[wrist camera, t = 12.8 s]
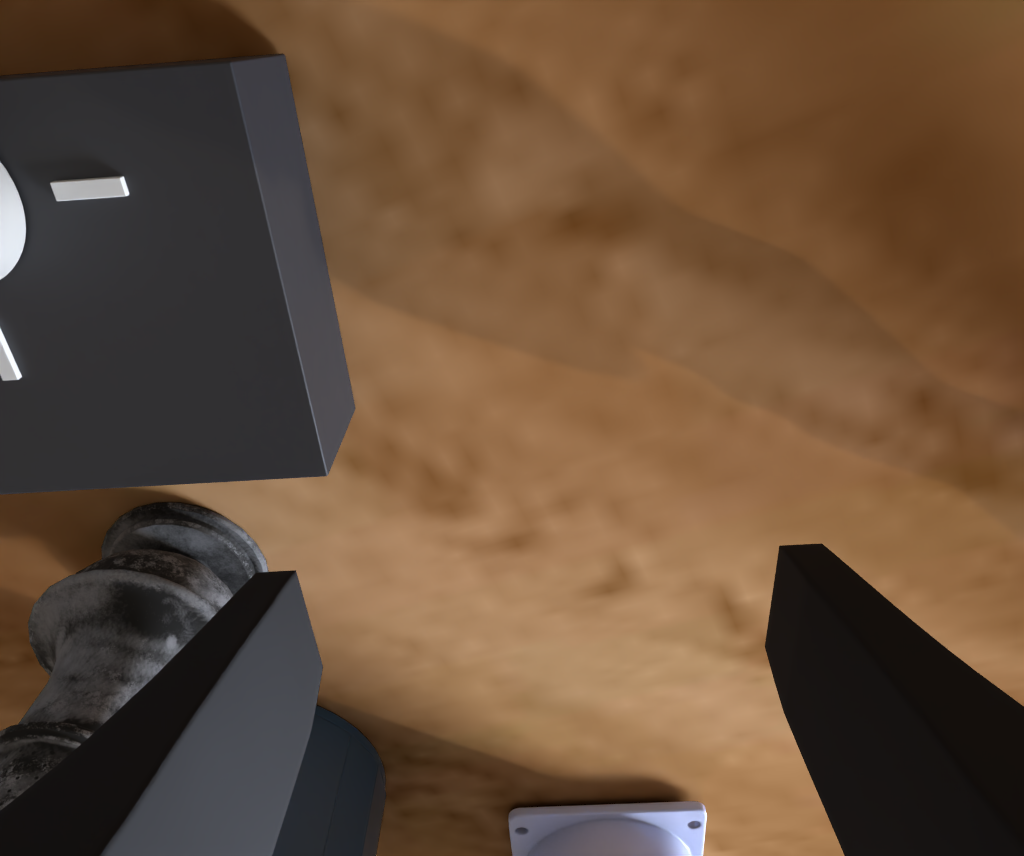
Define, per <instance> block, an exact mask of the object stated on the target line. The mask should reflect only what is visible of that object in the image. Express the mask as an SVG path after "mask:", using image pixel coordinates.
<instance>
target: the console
mask: <svg viewBox="0 0 1024 856" xmlns="http://www.w3.org/2000/svg"><path fill="white" fill-rule="evenodd" d="M0 162H1V163H2V165H3V166H4V167H5V169H6V170H7V172H8V173H9V175H10V177H11V179H12V180H13V182H14V184H15V186H16V189H17V191H18V193H19V196H20V199H21V202H22V205H23V209H24V214H25V221H26V237H25V243H24V247H23V251H22V253H21V256H20V258H19V260H18V262H17V263H16V265H15V266H14V268H13V269H12V270H11V271H10V272H9V273H8V274H7V275H6V276H5V277H3V278H2V279H1V280H0V494H16V493H34V492H52V491H69V490H87V489H105V488H123V487H141V486H159V485H176V484H194V483H212V482H230V481H248V480H266V479H283V478H301V477H319V476H327V475H328V474H329V471H330V469H331V466H332V464H333V461H334V459H335V457H336V454H337V452H338V449H339V447H340V445H341V442H342V440H343V437H344V435H345V432H346V430H347V428H348V425H349V423H350V420H351V418H352V416H353V413H354V411H355V404H354V399H353V394H352V389H351V384H350V379H349V374H348V369H347V364H346V359H345V354H344V349H343V344H342V339H341V334H340V329H339V324H338V319H337V314H336V309H335V304H334V299H333V294H332V289H331V284H330V279H329V274H328V269H327V264H326V259H325V254H324V249H323V244H322V239H321V234H320V229H319V224H318V219H317V214H316V209H315V204H314V199H313V194H312V189H311V184H310V179H309V174H308V169H307V164H306V159H305V153H304V148H303V143H302V138H301V133H300V128H299V123H298V118H297V113H296V108H295V103H294V98H293V93H292V88H291V83H290V78H289V73H288V68H287V63H286V58H285V55H284V54H270V55H257V56H245V57H232V58H219V59H206V60H194V61H181V62H168V63H156V64H143V65H130V66H117V67H105V68H92V69H79V70H66V71H54V72H41V73H28V74H15V75H3V76H0Z"/></svg>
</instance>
